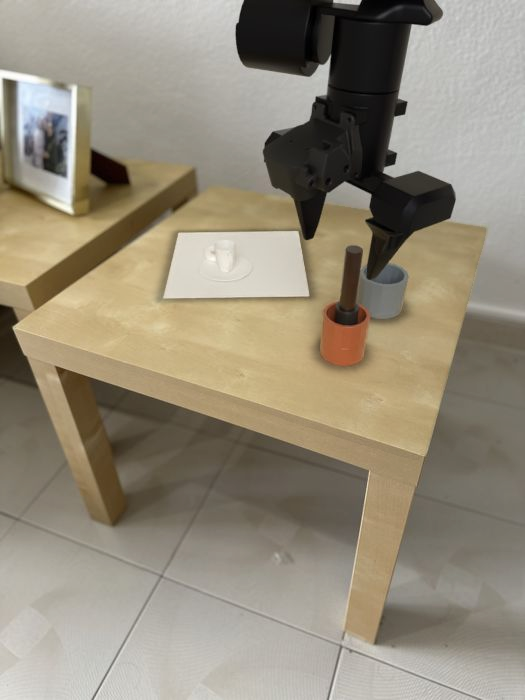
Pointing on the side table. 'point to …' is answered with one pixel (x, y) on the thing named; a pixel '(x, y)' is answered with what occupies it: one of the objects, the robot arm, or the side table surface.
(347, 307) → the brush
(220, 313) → the side table surface
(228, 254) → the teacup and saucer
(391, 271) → the cup
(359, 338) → the holder
